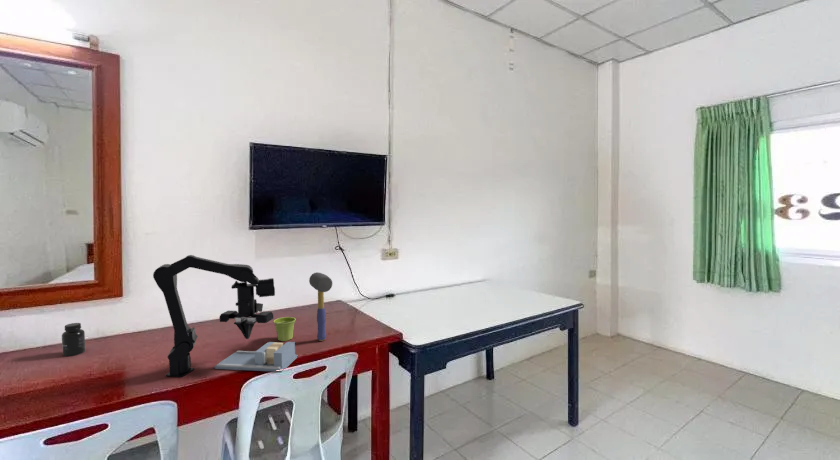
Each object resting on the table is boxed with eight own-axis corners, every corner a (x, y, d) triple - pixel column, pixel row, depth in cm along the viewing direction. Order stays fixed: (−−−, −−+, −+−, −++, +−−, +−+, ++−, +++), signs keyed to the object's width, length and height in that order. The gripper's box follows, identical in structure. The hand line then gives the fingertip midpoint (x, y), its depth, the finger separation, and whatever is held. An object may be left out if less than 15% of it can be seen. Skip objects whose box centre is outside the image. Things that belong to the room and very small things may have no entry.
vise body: (282, 371, 135) (281, 354, 134) (214, 368, 137) (213, 351, 137) (297, 357, 148) (297, 341, 147) (235, 354, 150) (235, 338, 150)
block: (275, 364, 139) (275, 348, 138) (266, 364, 139) (266, 348, 138) (283, 357, 144) (283, 342, 144) (274, 357, 145) (274, 342, 144)
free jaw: (264, 365, 137) (263, 352, 137) (255, 365, 137) (254, 352, 137) (277, 354, 147) (276, 342, 146) (268, 354, 147) (268, 341, 147)
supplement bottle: (58, 357, 147) (56, 328, 146) (69, 351, 154) (67, 322, 153) (79, 355, 149) (77, 326, 148) (89, 349, 156) (87, 321, 155)
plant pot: (274, 336, 170) (273, 318, 169) (295, 334, 173) (295, 315, 173) (273, 344, 161) (273, 324, 161) (296, 341, 165) (296, 322, 164)
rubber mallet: (309, 337, 169) (307, 272, 167) (325, 334, 173) (324, 270, 171) (318, 346, 158) (316, 276, 156) (334, 342, 163) (333, 275, 160)
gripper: (279, 293, 148) (280, 332, 149) (235, 292, 150) (236, 330, 151) (265, 301, 137) (266, 342, 138) (217, 300, 139) (219, 340, 140)
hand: (247, 338), depth 142 cm, fingers closed
